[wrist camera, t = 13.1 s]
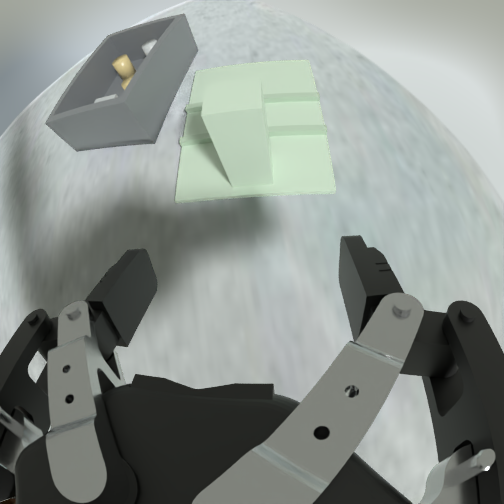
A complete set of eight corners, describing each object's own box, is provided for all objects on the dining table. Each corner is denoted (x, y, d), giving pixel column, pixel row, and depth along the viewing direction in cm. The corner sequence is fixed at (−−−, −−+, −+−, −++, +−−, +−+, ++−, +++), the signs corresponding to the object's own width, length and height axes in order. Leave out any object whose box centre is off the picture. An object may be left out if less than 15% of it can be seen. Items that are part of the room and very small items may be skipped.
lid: (178, 205, 21) (121, 143, 12) (197, 76, 25) (173, 14, 16) (334, 196, 19) (357, 117, 11) (308, 65, 23) (308, -3, 15)
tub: (76, 151, 24) (45, 123, 19) (126, 64, 28) (107, 35, 22) (154, 143, 22) (124, 102, 17) (198, 50, 26) (184, 13, 20)
